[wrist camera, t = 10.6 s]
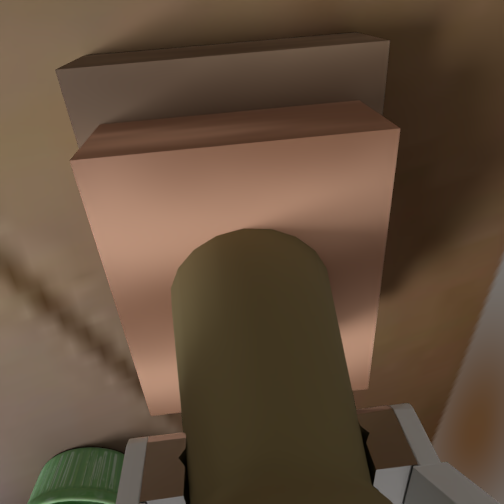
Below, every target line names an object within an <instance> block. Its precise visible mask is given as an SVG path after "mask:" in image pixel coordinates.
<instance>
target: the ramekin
mask: <svg viewBox="0 0 504 504" xmlns="http://www.w3.org/2000/svg"><path fill="white" fill-rule="evenodd" d="M124 455H125V454H123V453H121V452H118V451H115V450H111V449H106V448H98V447H85V448H77V449H72V450H69V451H66V452H63V453H61V454H58V455H57V456H55V457H53V458H52V459H51V460H49V461H48V462H47V463H46V465H45V466H44V467H43V469H42V471H41V473H40V475H39V477H38V480H37V482H36V484H35V487H34V489H33V492H32V494H31V497H30V499H29V501H28V503H27V504H116V499H117V494H118V488H119V482H120V477H121V471H122V466H123V460H124Z"/></svg>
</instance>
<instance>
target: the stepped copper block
mask: <svg viewBox="0 0 504 504" xmlns="http://www.w3.org/2000/svg"><path fill="white" fill-rule="evenodd" d="M389 47H390V40H386V39H382V38H378V37H374V36H370V35H366V34H362V33H358V32H352V33H340V34H329V35H317V36H306V37H294V38H282V39H271V40H259V41H248V42H236V43H225V44H213V45H202V46H190V47H178V48H167V49H155V50H144V51H132V52H121V53H109V54H97V55H86V56H82V57H80V58H78V59H76V60H74V61H72V62H70V63H68V64H66V65H64V66H62V67H60V68H58V69H56V70H55V71H56V74H57V77H58V81H59V84H60V87H61V91H62V94H63V97H64V101H65V104H66V107H67V110H68V114H69V117H70V120H71V124H72V127H73V130H74V134H75V137H76V140H77V144H78V147H79V150H78V151H77V152H76V153H75V155H74V156H73V157H72V158H71V160H70V163H71V166H72V170H73V173H74V176H75V179H76V182H77V185H78V188H79V192H80V195H81V198H82V201H83V204H84V207H85V210H86V214H87V217H88V220H89V223H90V226H91V229H92V232H93V236H94V239H95V242H96V245H97V248H98V251H99V254H100V258H101V261H102V264H103V267H104V270H105V273H106V276H107V280H108V283H109V286H110V289H111V292H112V295H113V298H114V302H115V305H116V308H117V311H118V314H119V317H120V320H121V324H122V327H123V330H124V333H125V336H126V339H127V342H128V346H129V349H130V352H131V355H132V358H133V361H134V364H135V368H136V371H137V374H138V377H139V380H140V383H141V386H142V390H143V393H144V396H145V399H146V402H147V405H148V408H149V412H150V415H151V416H155V415H163V414H171V413H179V412H181V403H180V392H179V382H178V371H177V360H176V349H175V338H174V328H173V317H172V303H171V287H172V284H173V281H174V278H175V276H176V273H177V270H178V268H179V267H180V265H181V264H182V263H183V262H184V261H185V260H186V258H187V257H188V256H189V255H190V254H191V253H192V251H193V250H194V249H196V248H198V247H199V246H201V245H202V244H204V243H206V242H207V241H209V240H211V239H212V238H214V237H215V236H218V235H222V234H225V233H229V232H233V231H236V230H240V229H273V230H276V231H279V232H282V233H286V234H289V235H292V236H295V237H297V238H298V239H300V240H301V241H303V242H304V243H305V244H307V245H308V246H310V247H311V248H312V249H314V250H315V251H316V253H317V254H318V256H319V257H320V259H321V260H322V262H323V263H324V265H325V266H326V268H327V272H328V277H329V281H330V286H331V291H332V296H333V301H334V305H335V310H336V315H337V320H338V325H339V329H340V334H341V339H342V344H343V349H344V353H345V358H346V363H347V368H348V373H349V377H350V382H351V387H352V391H354V390H362V389H368V385H369V377H370V369H371V361H372V353H373V345H374V337H375V329H376V321H377V313H378V305H379V297H380V289H381V281H382V273H383V265H384V257H385V249H386V241H387V233H388V225H389V217H390V209H391V201H392V193H393V185H394V177H395V169H396V161H397V153H398V145H399V137H400V129H401V128H399V127H398V126H396V125H395V124H393V123H392V122H391V121H389V120H388V119H386V118H385V117H383V107H384V97H385V87H386V77H387V67H388V57H389Z"/></svg>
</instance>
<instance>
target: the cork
mask: <svg viewBox="0 0 504 504" xmlns="http://www.w3.org/2000/svg"><path fill="white" fill-rule="evenodd" d="M171 303H172V317H173V328H174V338H175V349H176V360H177V371H178V382H179V392H180V403H181V414H182V425H183V432H184V433H185V435H186V462H187V476H188V485H189V500H190V504H393V503H392V502H391V501H390V500H389V499H388V498H387V497H386V496H384V495H383V494H382V493H381V492H379V491H378V490H377V489H376V488H374V487H373V486H372V483H371V478H370V473H369V469H368V464H367V459H366V454H365V449H364V445H363V440H362V435H361V430H360V426H359V422H358V418H357V411H356V406H355V401H354V397H353V392H352V387H351V382H350V377H349V373H348V368H347V363H346V358H345V353H344V349H343V344H342V339H341V334H340V329H339V325H338V320H337V315H336V310H335V305H334V301H333V296H332V291H331V286H330V281H329V277H328V272H327V268H326V266H325V265H324V263H323V262H322V260H321V259H320V257H319V256H318V254H317V253H316V251H315V250H314V249H312V248H311V247H310V246H308V245H307V244H305V243H304V242H303V241H301V240H300V239H298V238H297V237H295V236H292V235H289V234H286V233H282V232H279V231H276V230H273V229H240V230H236V231H233V232H229V233H225V234H222V235H218V236H215V237H214V238H212V239H211V240H209V241H207V242H206V243H204V244H202V245H201V246H199V247H198V248H196V249H194V250H193V251H192V253H191V254H190V255H189V256H188V257H187V258H186V260H185V261H184V262H183V263H182V264H181V265H180V267H179V268H178V270H177V273H176V276H175V278H174V281H173V284H172V287H171Z"/></svg>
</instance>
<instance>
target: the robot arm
mask: <svg viewBox="0 0 504 504" xmlns="http://www.w3.org/2000/svg"><path fill="white" fill-rule="evenodd" d="M356 411H357V418H358V422H359V426H360V430H361V435H362V440H363V445H364V449H365V454H366V459H367V464H368V469H369V473H370V478H371V483H372V486H373V487H374V488H376V489H377V490H378V491H379V492H381V493H382V494H383V495H384V496H386V497H387V498H388V499H389V500H390V501H391V502H392V503H393V504H500V503H499V502H498V501H496V500H495V499H494V498H492V497H491V496H490V495H488V494H487V493H486V492H485V491H484V490H482V489H481V488H480V487H478V486H477V485H476V484H475V483H473V482H472V481H471V480H469V479H468V478H467V477H465V476H464V475H463V474H462V473H460V472H459V471H458V470H456V469H455V468H454V467H453V466H451V465H450V464H449V463H448V462H440V460H439V458H438V456H437V454H436V452H435V450H434V448H433V446H432V444H431V442H430V440H429V438H428V436H427V434H426V432H425V430H424V428H423V426H422V424H421V422H420V420H419V419H418V417H417V415H416V413H415V411H414V409H413V407H412V406H411V405H410V404H409V403H403V404H396V405H390V406H389V405H385V406H378V407H371V408H365V409H358V410H356ZM116 504H190V500H189V485H188V476H187V462H186V435H185V433H184V432H182V433H174V434H165V435H157V436H146V437H138V438H131V439H129V440H128V443H127V445H126V449H125V455H124V460H123V466H122V471H121V477H120V482H119V488H118V494H117V499H116Z"/></svg>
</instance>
